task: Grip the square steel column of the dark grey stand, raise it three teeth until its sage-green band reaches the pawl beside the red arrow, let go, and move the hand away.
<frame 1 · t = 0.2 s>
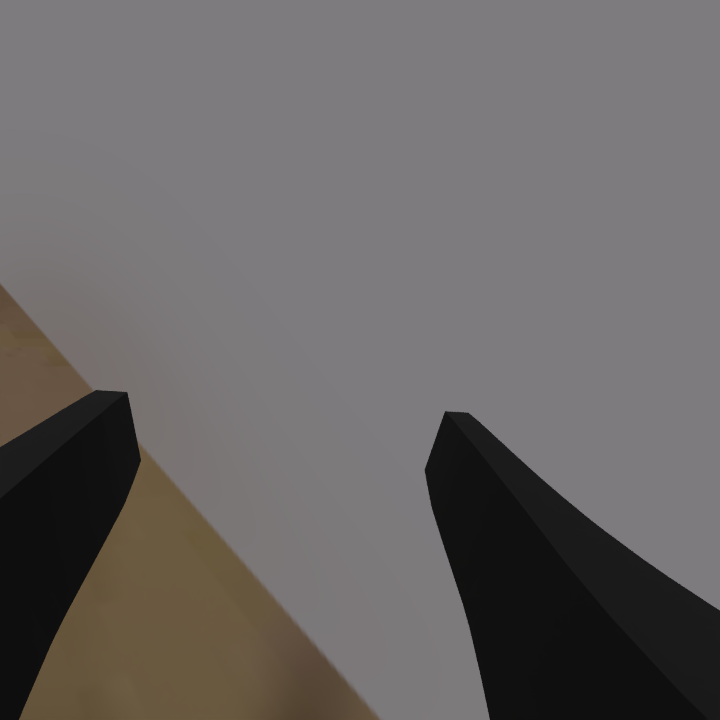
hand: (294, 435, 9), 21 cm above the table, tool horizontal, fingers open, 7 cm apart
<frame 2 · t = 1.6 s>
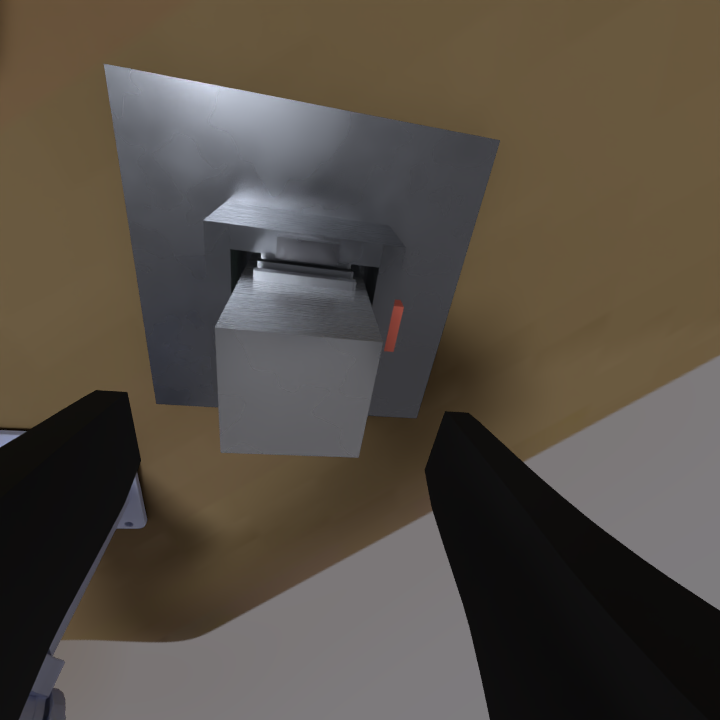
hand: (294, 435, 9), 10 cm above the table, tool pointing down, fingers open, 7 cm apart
stand column: (301, 329, 13), point 5 cm above the table, slide at 0.0 cm
stand base: (304, 282, 18), on the table
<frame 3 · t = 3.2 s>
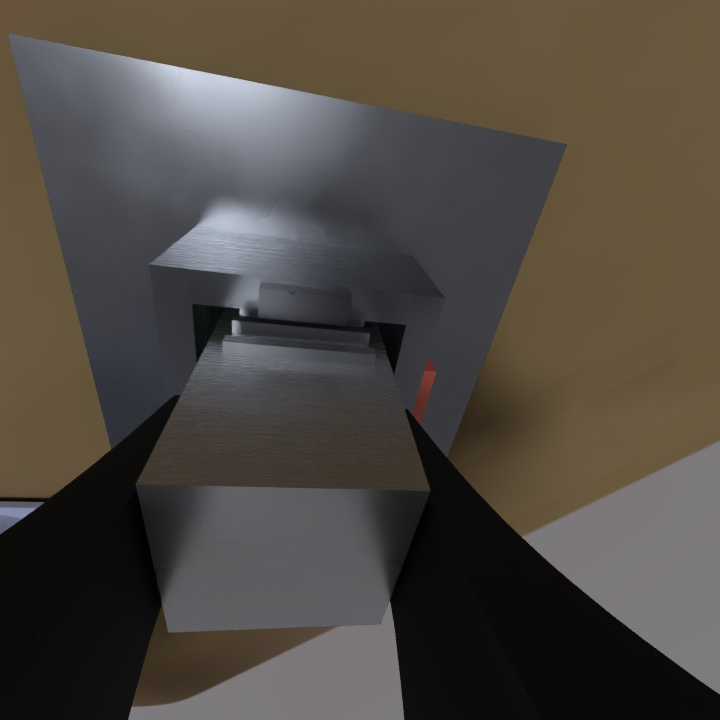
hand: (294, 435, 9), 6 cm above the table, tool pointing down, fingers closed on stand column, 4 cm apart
stand column: (296, 410, 9), point 5 cm above the table, slide at 0.0 cm, touching gripper
stand base: (301, 325, 14), on the table
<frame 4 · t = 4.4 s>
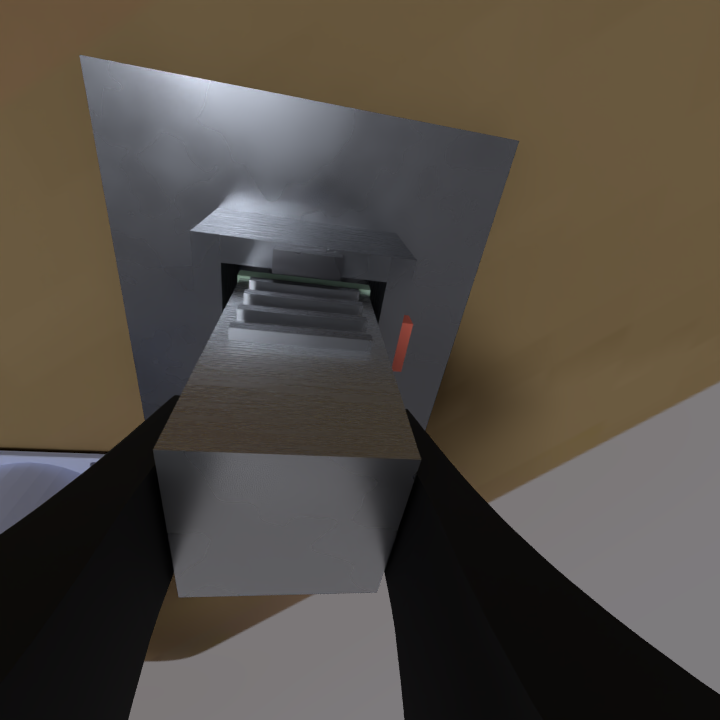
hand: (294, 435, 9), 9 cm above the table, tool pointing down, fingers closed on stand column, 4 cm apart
stand column: (297, 395, 10), point 7 cm above the table, slide at 2.4 cm, touching gripper
stand base: (304, 294, 16), on the table
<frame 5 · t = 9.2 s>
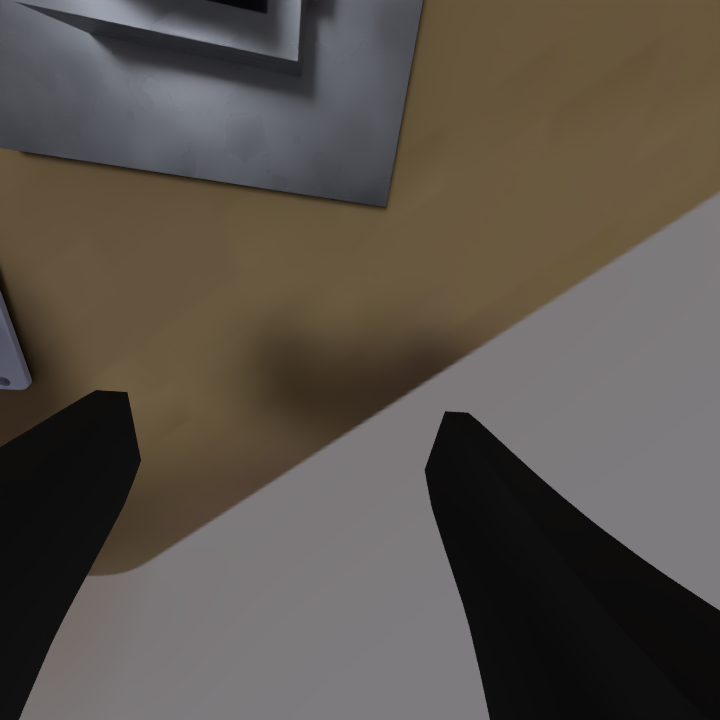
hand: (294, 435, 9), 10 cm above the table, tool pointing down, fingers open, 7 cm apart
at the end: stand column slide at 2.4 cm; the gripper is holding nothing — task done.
